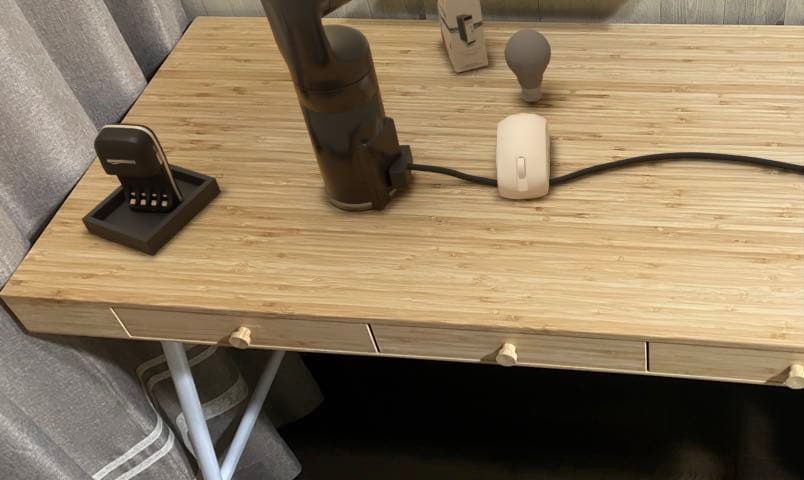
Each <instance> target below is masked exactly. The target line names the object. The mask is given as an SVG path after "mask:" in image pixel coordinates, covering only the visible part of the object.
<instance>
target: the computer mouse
mask: <svg viewBox="0 0 804 480" xmlns="http://www.w3.org/2000/svg"><path fill="white" fill-rule="evenodd" d="M549 128H550V127H549V124H548V119H547V118H545V117H543V116H541V115H539V114H537V113H526V112H519V113H515V114H509V115H507V116H506V117H505V118H503V119H501V120H500V121H499V122H498V124H497V132H496V143H495V167H496V180H497V181H498V186H497V189H498V193H499V196H500V197H501V198H504V199H505V198H506V199H509V200H528V199H536V198H537V199H538V198H540V197H543V196H545V195H548V194H549V190H550V189H549V188H550V186H549V179H550V175H551V173H550V172H551V170H550V168H551V167H550V166H551V159H550V158H551V157H550V156H551V151H550V150H551V139H550V138H551V137H550V129H549Z"/></svg>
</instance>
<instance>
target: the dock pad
mask: <svg viewBox="0 0 804 480" xmlns="http://www.w3.org/2000/svg"><path fill="white" fill-rule="evenodd" d="M169 166H170V168H171V171H172V173H173V176H174V179H175V181H176V183H177V185H178V188H179V190H180V192H181V194H182V196H183V197H182V200H181V202H180V203H179V204H178V205H177V206H176V208H175V209H173V210H172V211H169V212H150V211H137V210H132V209H130V208H129V207H128V205H127V202H126V198H125V193H124V190H123V187H122V185H121V184H120V185H119V186H118V187H116V188H115V189H114V190H113V191H112V192H111V193H110V194H108V195H107V196H106V197H105V198H104V199H103V200H102V201H100V202H99V203H98V204H96V206H95V207H93V208H92V209H91V210H90V211H88V213H87V214H85V215H84V216H83V217H82V218H81V221H82V223H83V225H84V227H85V228H86V230H87V232H88V233H89V234H92V235H95V236H98V237H101V238H104V239H107V240H109V241H111V242H114V243H117V244H120V245H124V246H126V247H128V248H131V249H134V250H137V251H139V252H142V253H145V254H148V255H151V256H154V255H155V254H156V253H157V252H158V251H159V250H160V249H161V248H163V247H164V245H166V244H167V243H168V242H169V241H170V240H171V239H172V238H173V237H174V236H175V235H177V233H178V232H180V230H181V229H183V228H184V226H186V225H187V224H188V223H189V222H190V221H191V220H192V219H193V218H194V217H195V216H196V215H198V213H199V212H201V211H202V210H203V209H204V208H205V207H206V206H207V205H208V204H209V203H211V202H212V200H213V199H214V198H216V196H217V195H219V194H220V192H221V188H220V186H219V184H218V181H217V178H216V177H214V176H211V175H207V174H204V173H201V172H198V171H195V170H192V169H189V168H185V167H182V166H180V165H179V166H178V165H176V164H172V163H169Z"/></svg>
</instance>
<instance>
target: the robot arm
mask: <svg viewBox="0 0 804 480" xmlns="http://www.w3.org/2000/svg"><path fill="white" fill-rule="evenodd" d="M259 1H260V3H261V6H262V8H263V12H264V14H265V17H266V19H267V22H268V24H269V27H270V30H271V33H272V36H273V39H274V41H275V44H276V46H277V49H278V51H279V53H280V55H281V56H282V58H283V60H284V62H285V65H286V66H287V69H288V71H289V74H290V77H291V80H292V83H293V87H294V90H295V94H296V95H297V100H298V104H299V106H300V110H301V114H302V117H303V120H304V123H305V127H306V130H307V133H308V137H309V139H310V143H311V146H312V149H313V152H314V156H315V159H316V163H317V166H318V169H319V173H320V175H321V178H322V181H323V186H324V191H325V194H326V197H327V200H329V202H330V203H331V204H332V205H333V206H335V207H337V208H339V209H342V210H347V211H355V212H356V211H357V212H359V211H366V210H371V209H376V210H378V211H382V210H383V209H384V208H385V207H386V205H388V203H389V202H390V201H391V200H392V199H393V198H394V197H395V196H396V195H397V194H398V192H400V190H403V189H405V190H406V189H409V185H410V181H411V180H410V179H411V175H412V171H415V172H423V173H433V174H440V175H445V176H450V177H453V178H456V179H459V180H463V181H467V182H471V183H476V184H482V185H488V186H492V187H498V181H497V178H489V177H485V176H484V177H483V176H480V175H479V176H478V175H474V174H468V173H465V172H461V171H459V170H457V169H456V170H455V169H452V168H447V167H442V166H438V165H437V166H436V165H428V164H422V163H421V164H420V163H419V164H418V163H414V158H413V154H412V149H411V145H410V144H400V141H399V137H398V132H397V128H396V124H395V123H396V122H395V119H394V118H392V117H389V116H387V115H386V111H385V106H384V101H383V98H382V97H383V96H382V94H381V89H380V85H379V81H378V80H379V79H378V76H377V71H376V67H375V63H374V59H373V54H372V50H371V46H370V43H369V41H368V38H367V36H365V34H364V33H363V32H362V31H360V30H359V29H357V28H354V27H352V26H349V25H344V24H334V23H333V24H323V21H322V20H323V18H325V17H327V16H328V15H330V14H332V13H334V12H335V11H337V10H339V9H340V8H342V7H343V6H345V5H348V4H349V3H350V2H352V1H353V0H259ZM685 159H686V160H687V159H688V160H693V159H694V160H713V161H722V162H723V161H725V162H736V163H743V164H752V165H759V166H764V167H769V168H775V169H776V168H777V169H781V170H786V171H791V172H798V173H804V165H801V164H796V163H790V162H785V161H781V160H779V161H778V160H774V159H769V158H761V157H757V156H748V155H740V154H728V153H718V152H717V153H716V152H703V151H702V152H701V151H680V152H679V151H677V152H662V153H653V154H645V155H639V156H633V157H629V158H628V157H627V158H622V159H619V160H615V161H610V162H609V161H608V162H605V163H601V164H597V165H596V164H595V165H593V166H589V167H585V168H581V169H579V170H576V171H573V172H570V173H568V174H567V173H566V174H564V175H560V176H556V177H552V178H549V187H551V186H556V185H560V184H564V183H566V182H570V181H572V180H575V179H580V178H581V177H585V176H588V175H591V174H594V173H598V172H604V171H608V170H612V169H617V168H622V167H627V166H630V165H637V164H641V163H647V162H655V161H665V160H666V161H667V160H685Z"/></svg>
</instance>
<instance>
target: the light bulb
mask: <svg viewBox="0 0 804 480" xmlns="http://www.w3.org/2000/svg"><path fill="white" fill-rule="evenodd" d="M551 48H552V47H551V45H550V43H549V40H548V39H547V38H546V37H545V36H544V34H542V33H541V32H539V31H537V30H535V29H531V28H524V29H520V30H518V31H515V32H514V33H513V34H512V35H511V36H510V37H509V38H508V40H507V41H506V44H505V47H504V49H503V51H504V53H503V54H504V60H505V63H506V65H507V68H509V69H510V71H511V72H512V73H513V74H514V75H515V77H516V78H517V82H518V84H519V85H520V91H521V97H522V98H521V99H522V100H524V101H525V102H536V101H539V100H540V99H541V98H542V97H543V93H542V82H543V79H544V73H545V71H546V70H547V68H548V66H549V64H550V61H551V58H552V49H551Z"/></svg>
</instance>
